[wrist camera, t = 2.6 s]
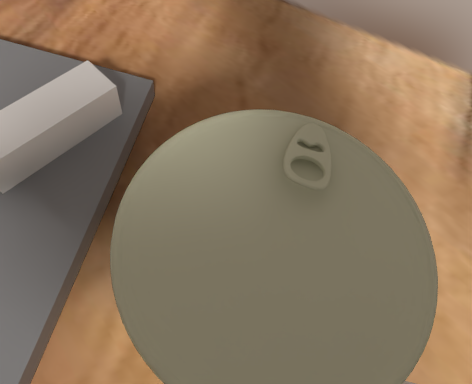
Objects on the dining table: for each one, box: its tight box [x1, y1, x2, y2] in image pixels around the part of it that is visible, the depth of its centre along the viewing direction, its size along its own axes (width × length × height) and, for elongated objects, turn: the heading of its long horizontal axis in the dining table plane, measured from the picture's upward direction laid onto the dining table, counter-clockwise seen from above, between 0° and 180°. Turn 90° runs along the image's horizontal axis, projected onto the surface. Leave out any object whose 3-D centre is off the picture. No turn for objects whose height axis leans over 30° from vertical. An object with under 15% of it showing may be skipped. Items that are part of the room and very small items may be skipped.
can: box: [110, 109, 438, 384], centre depth 15 cm, size 9×9×12 cm
